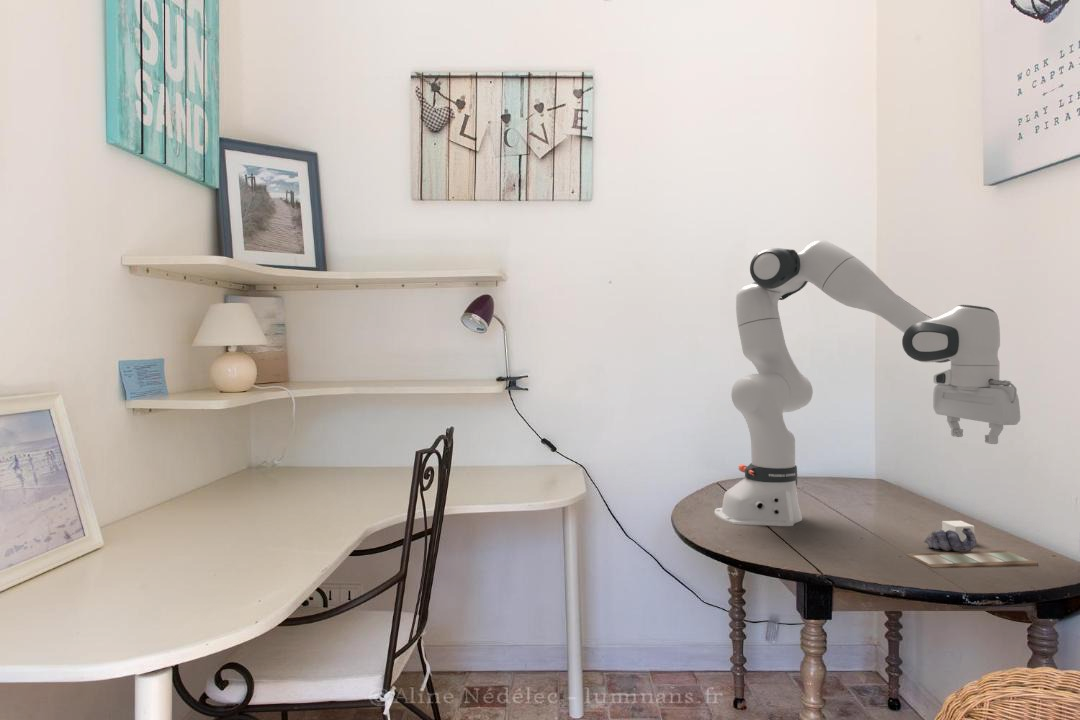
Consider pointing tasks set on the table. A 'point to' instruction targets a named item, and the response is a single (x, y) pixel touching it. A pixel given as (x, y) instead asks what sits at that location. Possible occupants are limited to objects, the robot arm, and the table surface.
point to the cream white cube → (957, 527)
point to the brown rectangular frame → (972, 559)
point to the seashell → (951, 540)
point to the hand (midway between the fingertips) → (973, 440)
